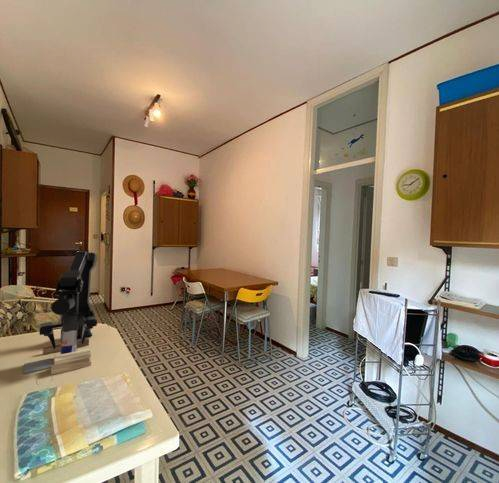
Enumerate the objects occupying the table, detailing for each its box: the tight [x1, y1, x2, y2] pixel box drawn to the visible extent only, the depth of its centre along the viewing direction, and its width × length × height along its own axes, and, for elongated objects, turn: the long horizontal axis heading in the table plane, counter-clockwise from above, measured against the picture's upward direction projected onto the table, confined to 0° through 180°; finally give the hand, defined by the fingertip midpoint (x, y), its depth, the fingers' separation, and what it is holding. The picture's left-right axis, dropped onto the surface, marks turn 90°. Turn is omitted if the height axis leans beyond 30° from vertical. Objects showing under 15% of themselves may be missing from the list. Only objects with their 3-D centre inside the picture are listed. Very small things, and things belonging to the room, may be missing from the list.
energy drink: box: [59, 328, 78, 355], centre depth 107 cm, size 5×5×12 cm
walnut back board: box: [42, 337, 90, 355], centre depth 113 cm, size 1×16×3 cm, turn 129°
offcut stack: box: [50, 348, 92, 376], centre depth 99 cm, size 5×12×4 cm, turn 129°
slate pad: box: [23, 357, 53, 375], centre depth 98 cm, size 8×8×1 cm
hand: (68, 346), depth 107 cm, fingers open, 9 cm apart
